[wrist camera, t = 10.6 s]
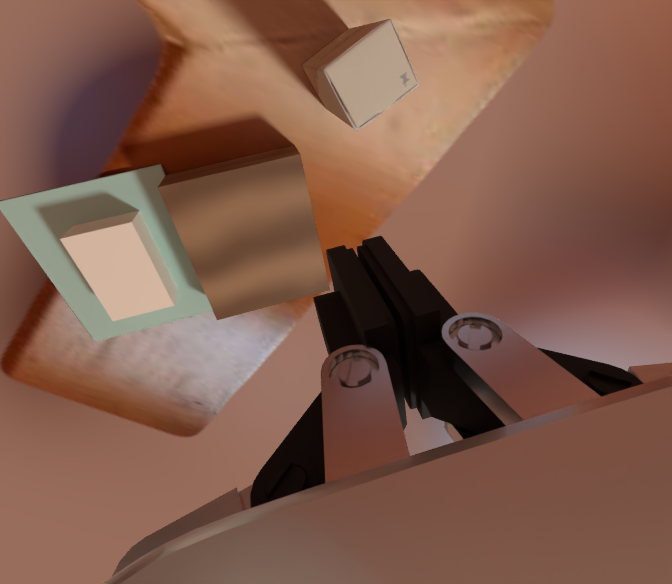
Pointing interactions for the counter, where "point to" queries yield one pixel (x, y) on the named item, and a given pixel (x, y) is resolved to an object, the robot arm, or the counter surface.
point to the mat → (94, 204)
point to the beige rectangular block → (122, 265)
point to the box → (362, 73)
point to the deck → (248, 230)
